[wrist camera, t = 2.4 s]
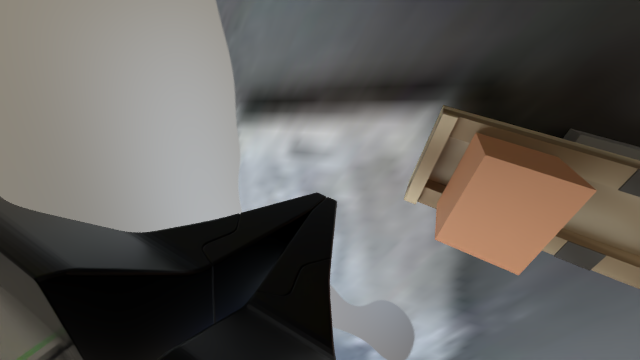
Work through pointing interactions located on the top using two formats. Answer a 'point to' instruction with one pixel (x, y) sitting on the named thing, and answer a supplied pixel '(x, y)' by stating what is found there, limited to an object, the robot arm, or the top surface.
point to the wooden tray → (580, 155)
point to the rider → (507, 202)
